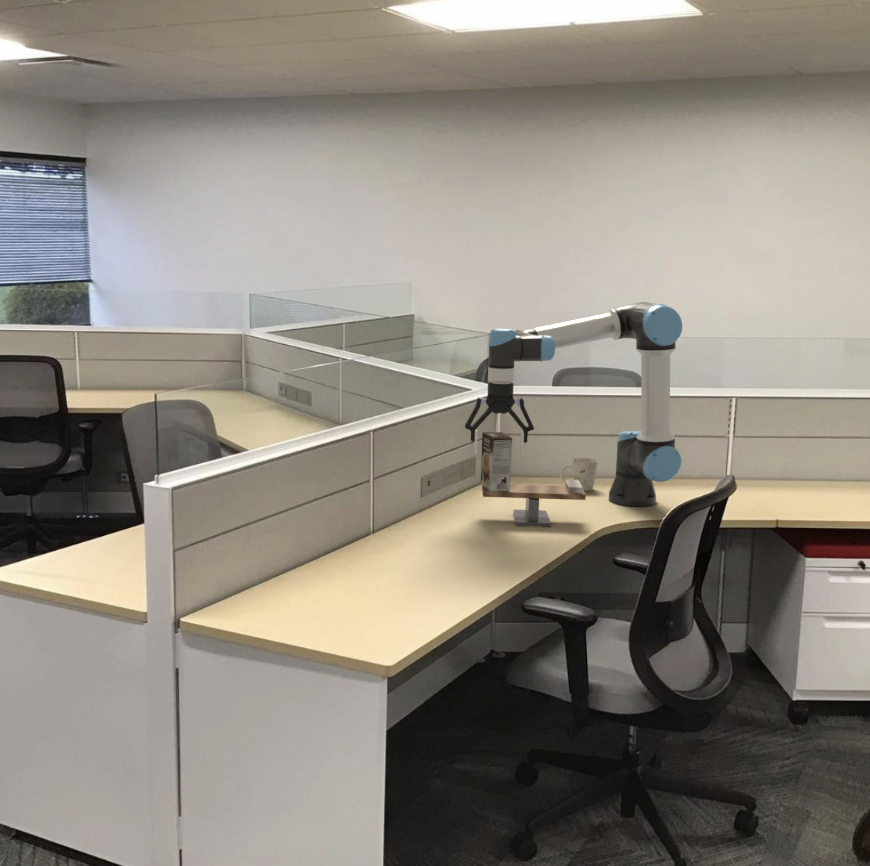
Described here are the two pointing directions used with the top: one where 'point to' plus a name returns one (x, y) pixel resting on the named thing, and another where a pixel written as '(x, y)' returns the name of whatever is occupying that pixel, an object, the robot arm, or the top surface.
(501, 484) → the coffee box
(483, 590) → the top surface
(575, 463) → the mug
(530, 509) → the pivot stand
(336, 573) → the top surface
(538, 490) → the beam
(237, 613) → the top surface
